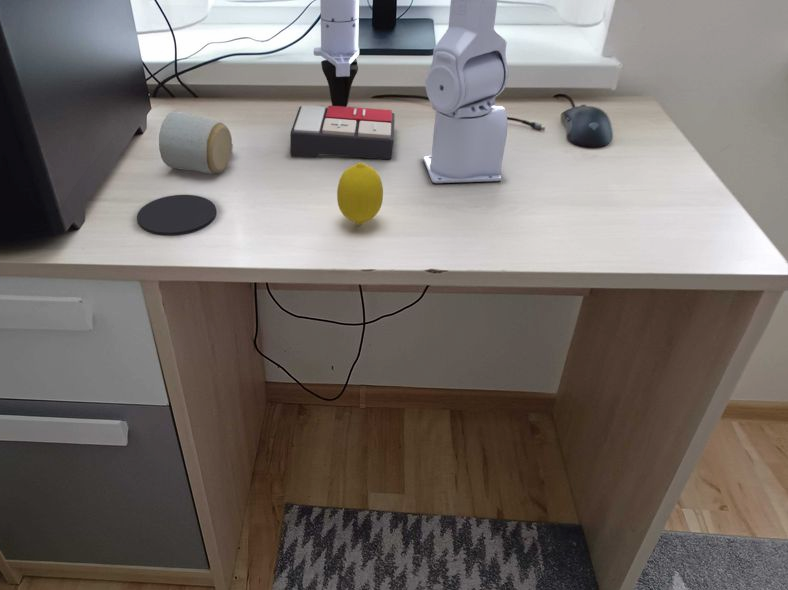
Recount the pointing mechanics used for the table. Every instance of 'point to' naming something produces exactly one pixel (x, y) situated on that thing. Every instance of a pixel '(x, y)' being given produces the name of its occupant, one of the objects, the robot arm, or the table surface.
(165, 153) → the ceramic mug
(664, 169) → the table surface
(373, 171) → the lemon
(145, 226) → the felt coaster
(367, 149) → the switch panel
